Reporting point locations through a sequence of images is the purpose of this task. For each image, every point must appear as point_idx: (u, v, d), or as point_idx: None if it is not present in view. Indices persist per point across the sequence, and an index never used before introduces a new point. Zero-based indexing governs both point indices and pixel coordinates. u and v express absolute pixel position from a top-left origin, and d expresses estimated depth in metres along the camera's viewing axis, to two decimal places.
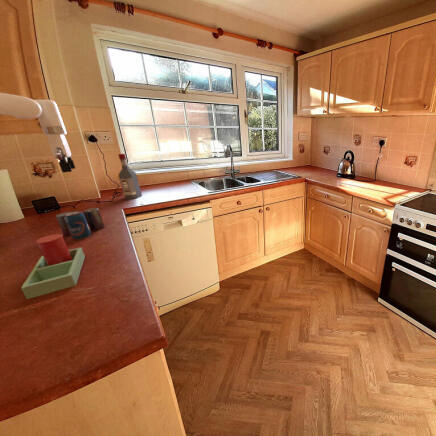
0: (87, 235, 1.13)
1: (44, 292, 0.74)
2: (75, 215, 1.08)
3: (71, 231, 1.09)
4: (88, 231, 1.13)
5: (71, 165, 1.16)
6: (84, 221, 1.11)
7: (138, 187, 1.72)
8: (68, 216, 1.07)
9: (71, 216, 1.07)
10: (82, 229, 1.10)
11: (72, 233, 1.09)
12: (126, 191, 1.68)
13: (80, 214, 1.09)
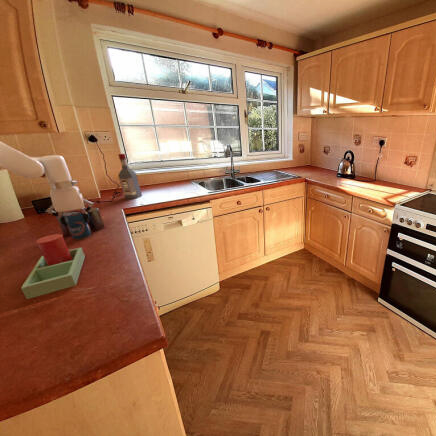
0: (87, 235, 1.13)
1: (44, 292, 0.74)
2: (75, 215, 1.08)
3: (71, 231, 1.09)
4: (88, 231, 1.13)
5: (85, 218, 1.12)
6: (84, 221, 1.11)
7: (138, 187, 1.72)
8: (68, 216, 1.07)
9: (71, 216, 1.07)
10: (82, 229, 1.10)
11: (72, 233, 1.09)
12: (126, 191, 1.68)
13: (80, 214, 1.09)
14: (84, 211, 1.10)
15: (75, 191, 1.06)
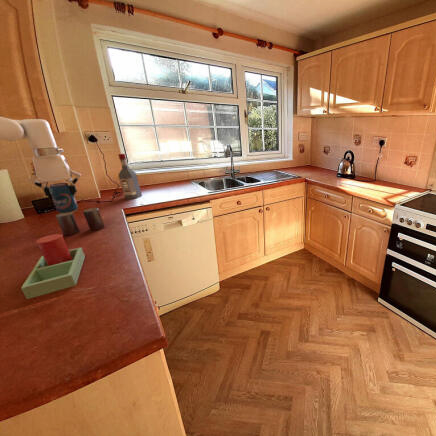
0: (74, 209, 1.05)
1: (44, 292, 0.74)
2: (60, 186, 1.00)
3: (56, 204, 1.01)
4: (75, 205, 1.05)
5: None
6: (70, 193, 1.03)
7: (138, 187, 1.72)
8: (53, 187, 0.99)
9: (56, 187, 0.99)
10: (68, 202, 1.02)
11: (57, 206, 1.01)
12: (126, 191, 1.68)
13: (66, 186, 1.02)
14: (70, 182, 1.02)
15: (61, 160, 0.98)
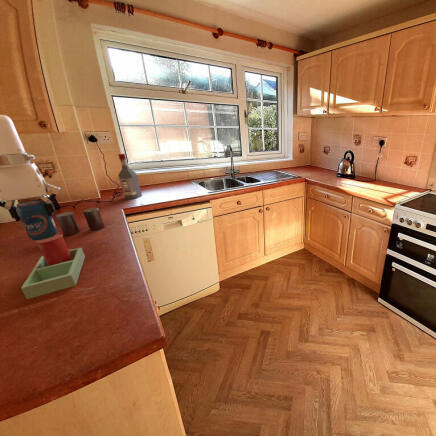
0: (52, 234, 0.79)
1: (44, 292, 0.74)
2: (32, 205, 0.74)
3: (27, 229, 0.75)
4: (53, 229, 0.79)
5: None
6: (47, 214, 0.77)
7: (138, 187, 1.72)
8: (21, 207, 0.73)
9: (26, 207, 0.73)
10: (43, 226, 0.76)
11: (28, 231, 0.75)
12: (126, 191, 1.68)
13: (40, 204, 0.76)
14: (46, 200, 0.76)
15: (31, 170, 0.72)
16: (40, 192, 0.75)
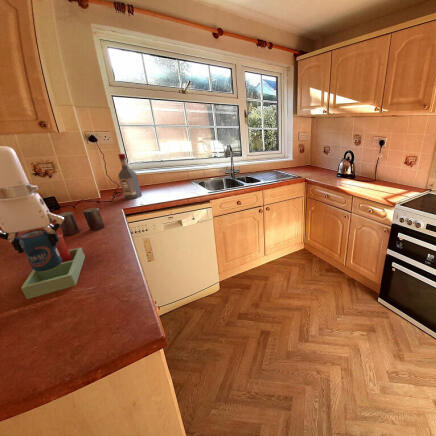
0: (55, 265, 0.77)
1: (44, 292, 0.74)
2: (35, 237, 0.72)
3: (30, 260, 0.73)
4: (57, 259, 0.77)
5: None
6: (50, 245, 0.75)
7: (138, 187, 1.72)
8: (24, 239, 0.71)
9: (29, 239, 0.71)
10: (46, 257, 0.74)
11: (32, 263, 0.73)
12: (126, 191, 1.68)
13: (44, 235, 0.73)
14: (50, 230, 0.74)
15: (34, 201, 0.70)
16: (44, 223, 0.72)
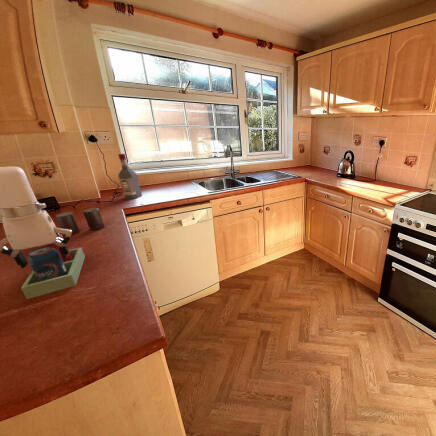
0: None
1: (44, 292, 0.74)
2: (43, 254, 0.74)
3: (38, 277, 0.75)
4: None
5: None
6: (58, 261, 0.77)
7: (138, 187, 1.72)
8: (33, 256, 0.73)
9: (37, 256, 0.73)
10: (54, 274, 0.76)
11: (40, 280, 0.75)
12: (126, 191, 1.68)
13: (51, 252, 0.76)
14: (60, 243, 0.76)
15: (42, 219, 0.72)
16: (51, 239, 0.74)
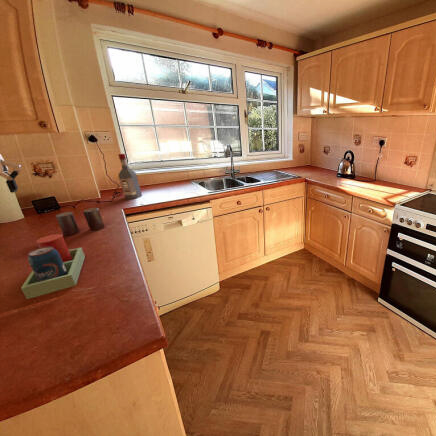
0: None
1: (44, 292, 0.74)
2: (43, 254, 0.74)
3: (38, 277, 0.75)
4: None
5: None
6: (58, 261, 0.77)
7: (138, 187, 1.72)
8: (33, 256, 0.73)
9: (37, 256, 0.73)
10: (54, 274, 0.76)
11: (40, 280, 0.75)
12: (126, 191, 1.68)
13: (51, 252, 0.76)
14: (7, 176, 0.78)
15: None
16: None
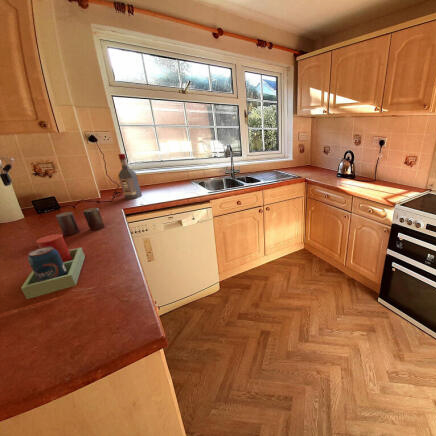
0: None
1: (44, 292, 0.74)
2: (43, 254, 0.74)
3: (38, 277, 0.75)
4: (64, 274, 0.79)
5: None
6: (57, 261, 0.77)
7: (138, 187, 1.72)
8: (33, 256, 0.73)
9: (37, 256, 0.73)
10: (54, 274, 0.76)
11: (40, 280, 0.75)
12: (126, 191, 1.68)
13: (51, 252, 0.76)
14: (1, 170, 0.79)
15: None
16: None
